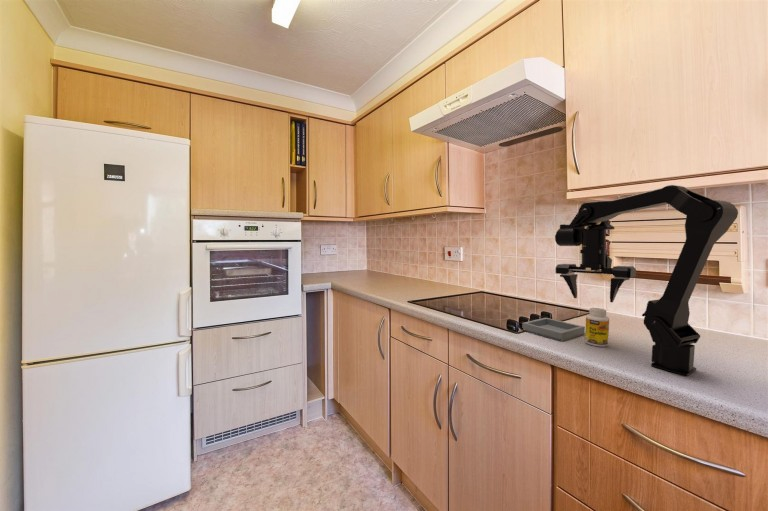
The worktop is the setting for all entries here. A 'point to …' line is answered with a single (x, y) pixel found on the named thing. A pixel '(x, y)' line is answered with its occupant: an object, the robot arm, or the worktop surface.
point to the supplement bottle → (597, 327)
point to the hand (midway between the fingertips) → (592, 300)
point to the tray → (554, 329)
